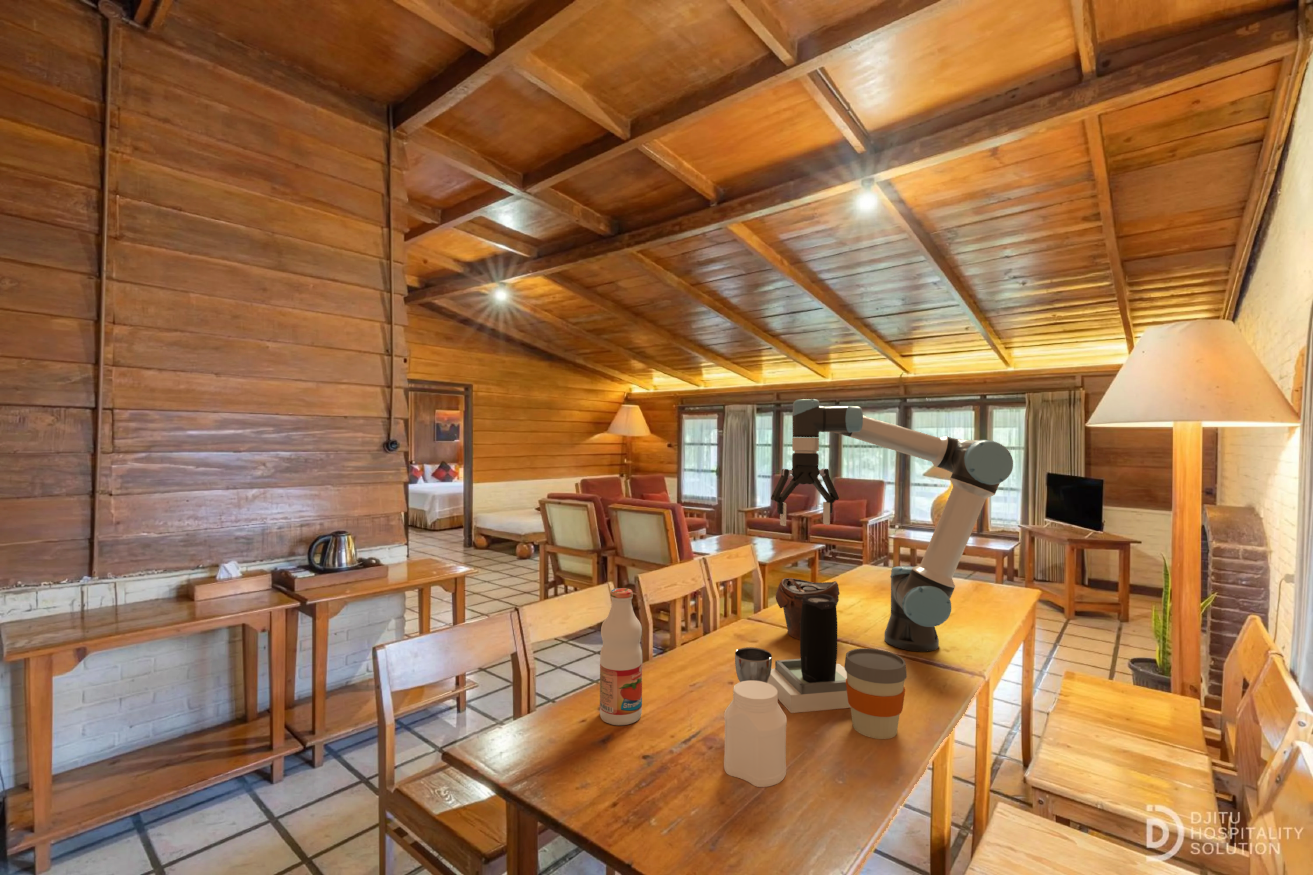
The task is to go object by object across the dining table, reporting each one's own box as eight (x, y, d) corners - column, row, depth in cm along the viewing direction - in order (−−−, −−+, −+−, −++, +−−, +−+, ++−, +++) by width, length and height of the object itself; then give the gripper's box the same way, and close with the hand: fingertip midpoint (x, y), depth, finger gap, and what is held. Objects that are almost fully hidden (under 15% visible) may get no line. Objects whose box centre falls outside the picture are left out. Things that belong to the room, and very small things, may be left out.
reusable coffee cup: (908, 748, 117) (908, 673, 117) (842, 736, 121) (843, 664, 121) (904, 719, 129) (905, 652, 129) (845, 710, 133) (845, 644, 133)
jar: (794, 768, 110) (794, 689, 110) (770, 792, 102) (771, 707, 102) (740, 748, 117) (741, 673, 117) (715, 769, 109) (715, 689, 109)
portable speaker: (825, 669, 146) (826, 591, 145) (844, 685, 136) (845, 602, 136) (793, 671, 144) (794, 592, 144) (810, 688, 135) (811, 603, 135)
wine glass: (773, 716, 130) (774, 649, 130) (768, 734, 122) (769, 662, 122) (738, 711, 132) (738, 645, 132) (731, 727, 125) (731, 657, 125)
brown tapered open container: (767, 626, 192) (769, 572, 191) (826, 624, 194) (827, 571, 193) (785, 646, 174) (787, 587, 173) (850, 645, 176) (851, 586, 176)
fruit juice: (610, 703, 136) (611, 583, 136) (648, 710, 133) (648, 587, 133) (592, 722, 127) (593, 593, 127) (632, 729, 124) (633, 598, 124)
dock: (856, 677, 151) (856, 654, 151) (890, 703, 137) (890, 678, 137) (765, 684, 146) (765, 661, 146) (790, 712, 132) (791, 686, 132)
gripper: (838, 451, 176) (837, 522, 176) (760, 451, 171) (759, 523, 172) (851, 452, 169) (850, 525, 169) (770, 452, 164) (769, 527, 164)
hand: (804, 524), depth 170 cm, fingers open, 13 cm apart
